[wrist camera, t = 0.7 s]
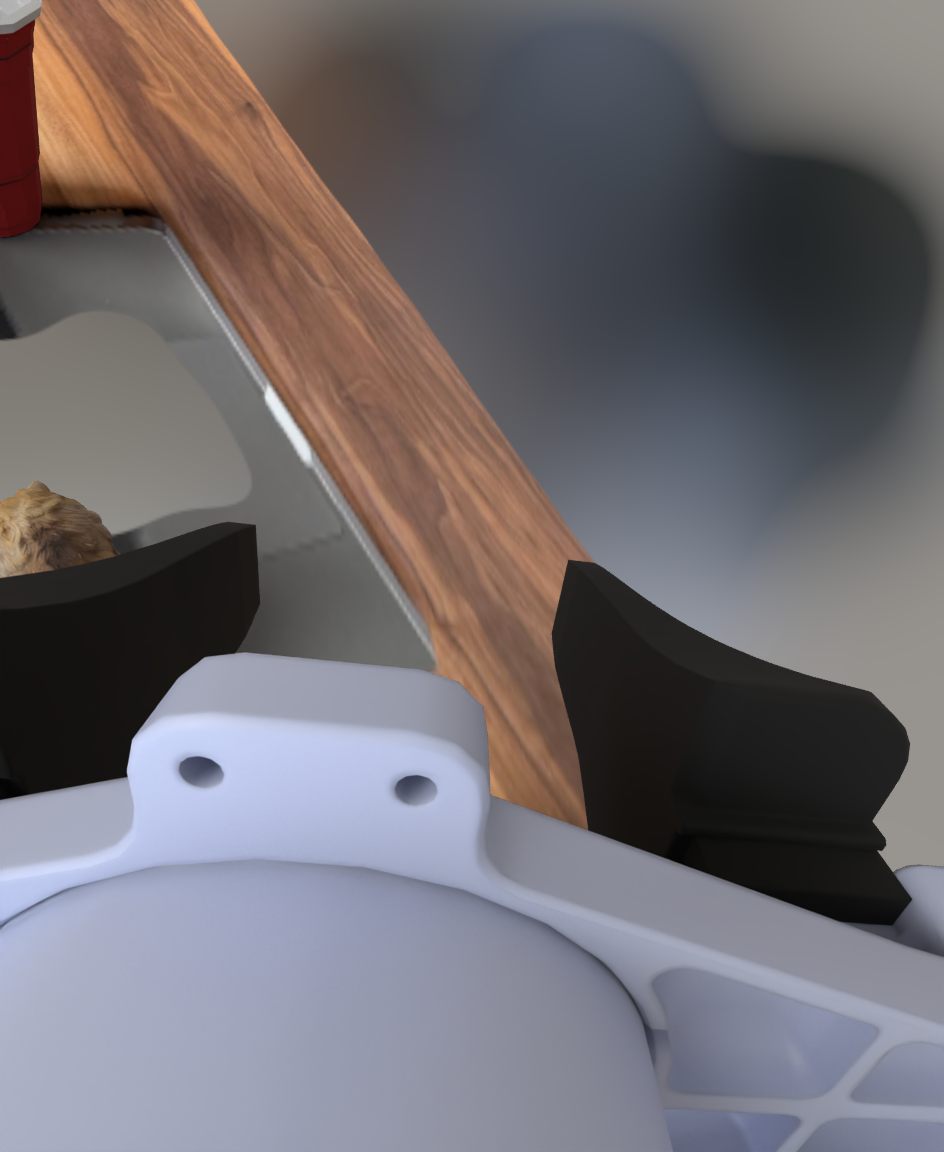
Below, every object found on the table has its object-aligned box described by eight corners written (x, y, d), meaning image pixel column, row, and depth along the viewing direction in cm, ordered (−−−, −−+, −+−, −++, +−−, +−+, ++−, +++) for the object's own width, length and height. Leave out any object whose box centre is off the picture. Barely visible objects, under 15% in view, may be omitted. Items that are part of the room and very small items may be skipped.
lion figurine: (21, 579, 25) (-71, 455, 17) (157, 579, 27) (127, 469, 19) (-48, 969, 19) (-231, 1036, 12) (133, 932, 21) (77, 968, 14)
